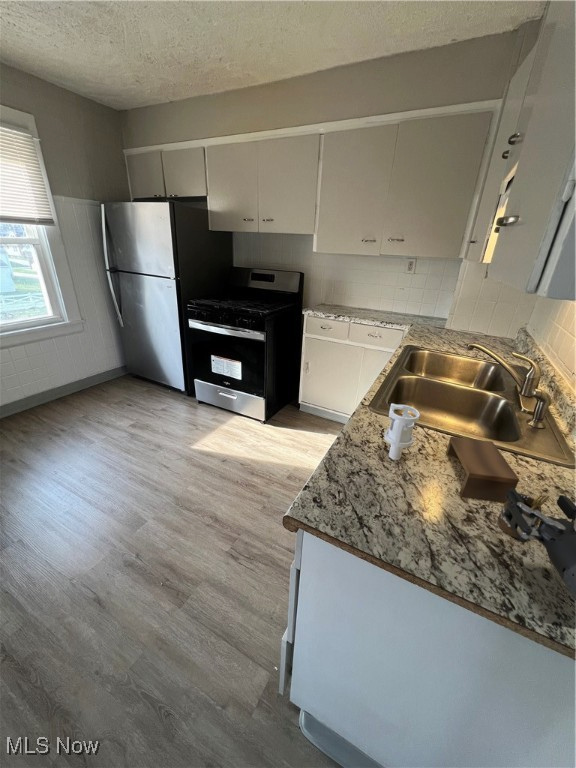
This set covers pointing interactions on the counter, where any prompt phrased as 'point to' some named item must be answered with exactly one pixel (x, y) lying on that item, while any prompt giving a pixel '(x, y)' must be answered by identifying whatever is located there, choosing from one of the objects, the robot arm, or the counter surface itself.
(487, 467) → the wooden pedestal stand
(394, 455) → the strainer
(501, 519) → the utensil holder
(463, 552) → the counter surface
